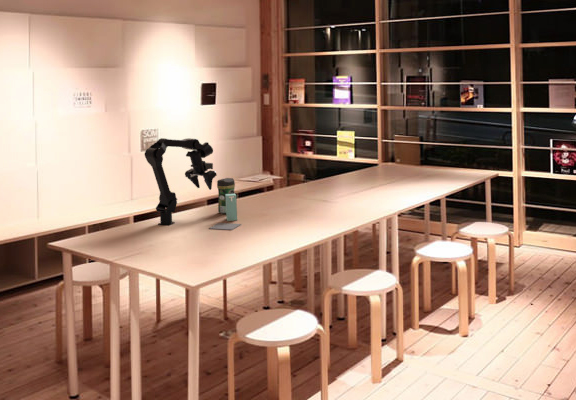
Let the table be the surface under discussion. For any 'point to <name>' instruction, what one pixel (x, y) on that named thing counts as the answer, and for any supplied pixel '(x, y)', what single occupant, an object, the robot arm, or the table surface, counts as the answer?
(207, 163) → the robot arm
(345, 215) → the table surface
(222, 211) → the coffee jar
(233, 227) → the mat
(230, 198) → the teal tall block
